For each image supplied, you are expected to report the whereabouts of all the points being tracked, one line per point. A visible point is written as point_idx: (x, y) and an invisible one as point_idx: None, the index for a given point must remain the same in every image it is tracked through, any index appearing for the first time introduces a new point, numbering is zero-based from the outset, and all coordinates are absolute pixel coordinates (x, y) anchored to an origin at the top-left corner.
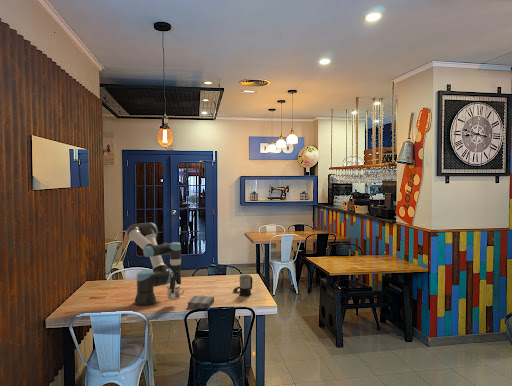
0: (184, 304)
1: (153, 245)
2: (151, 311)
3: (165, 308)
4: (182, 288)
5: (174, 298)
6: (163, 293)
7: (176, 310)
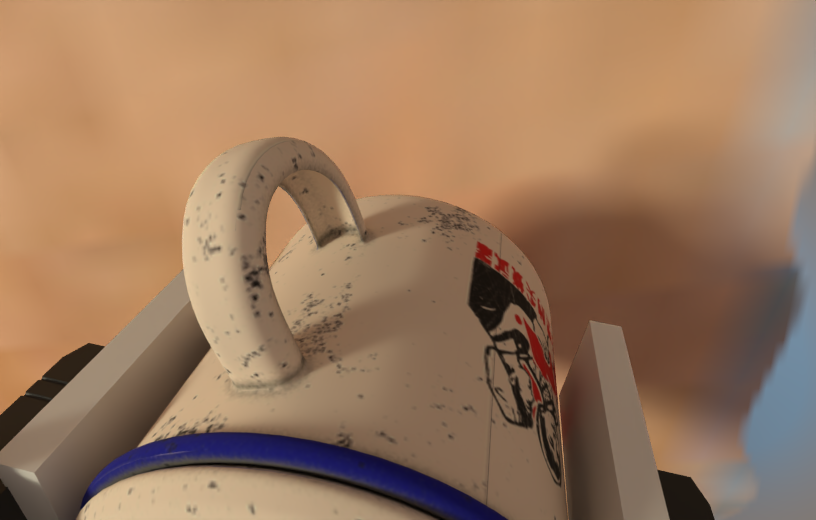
0: (360, 39)
1: None
2: (666, 467)
3: (567, 331)
4: (248, 275)
5: (547, 315)
6: (11, 391)
7: (737, 142)
